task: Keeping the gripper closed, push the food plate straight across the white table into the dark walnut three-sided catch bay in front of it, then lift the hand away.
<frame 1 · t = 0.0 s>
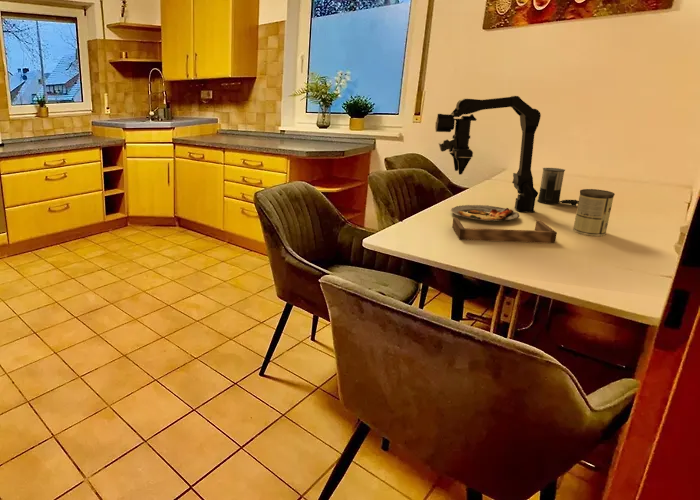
hand: (458, 172, 178), 15 cm above the table, tool pointing down, fingers open, 9 cm apart
coffee can: (588, 232, 154), on the table
food plate: (484, 217, 172), on the table
catch bay: (500, 234, 149), on the table
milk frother: (557, 204, 195), on the table
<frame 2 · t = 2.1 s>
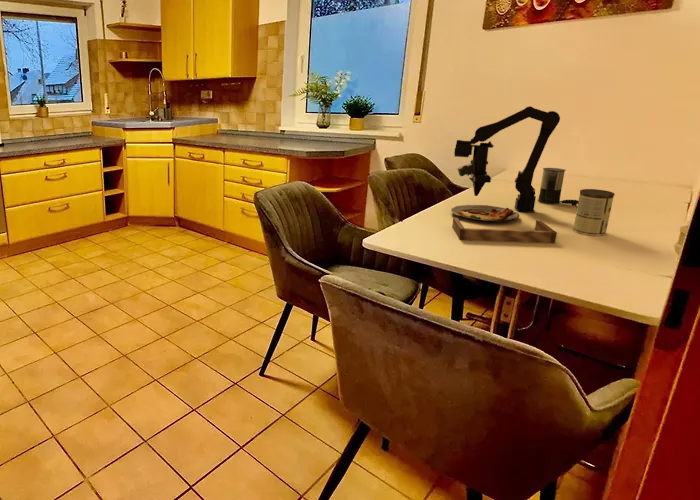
hand: (475, 195, 187), 4 cm above the table, tool pointing down, fingers closed
nothing on the table moved.
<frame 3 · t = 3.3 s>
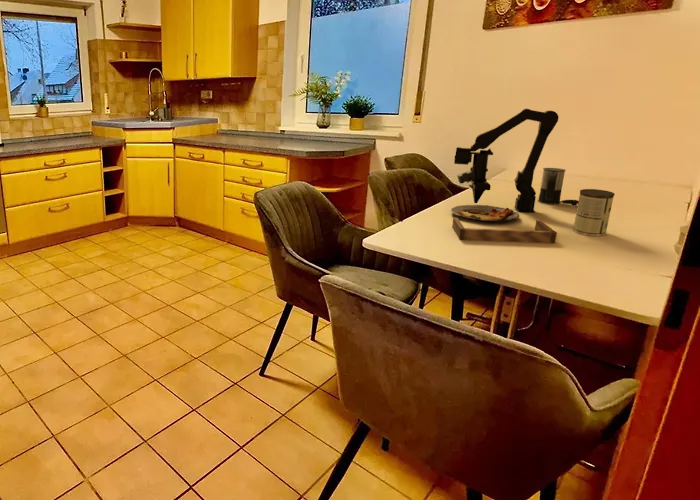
hand: (475, 202, 187), 1 cm above the table, tool pointing down, fingers closed
nothing on the table moved.
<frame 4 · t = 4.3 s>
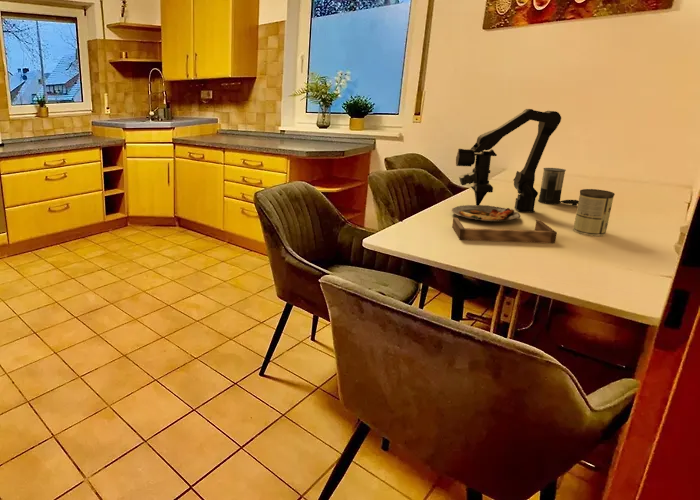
hand: (477, 205, 183), 2 cm above the table, tool pointing down, fingers closed
food plate: (484, 217, 171), on the table, touching gripper
everything else where it was.
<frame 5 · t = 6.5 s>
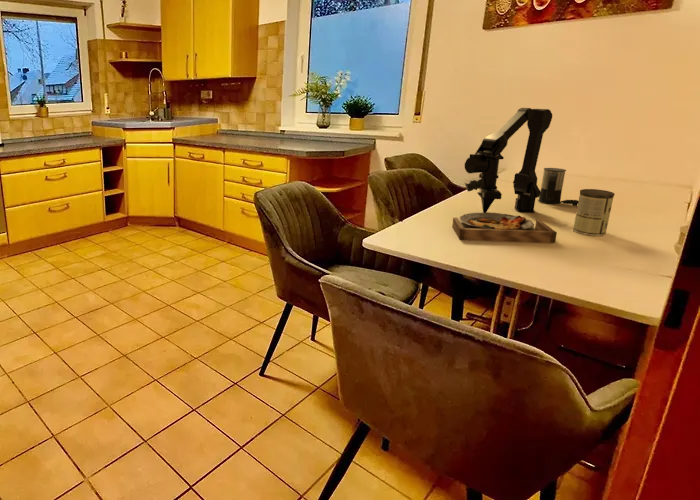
hand: (484, 212, 171), 2 cm above the table, tool pointing down, fingers closed
food plate: (495, 226, 159), on the table, touching gripper
everything else where it was.
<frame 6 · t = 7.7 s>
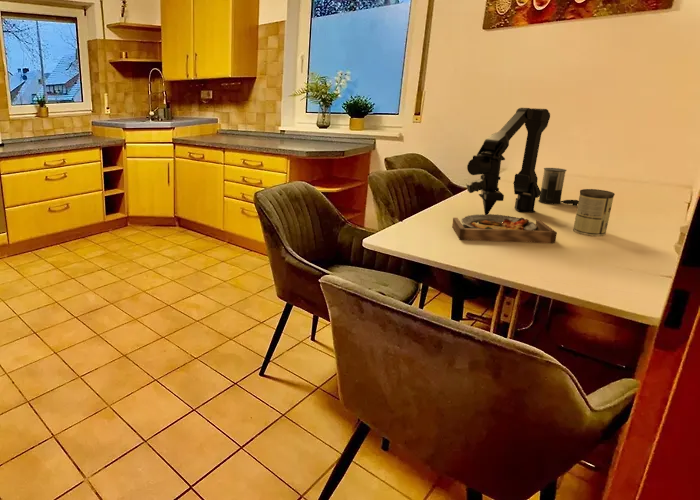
hand: (486, 214, 169), 1 cm above the table, tool pointing down, fingers closed
food plate: (497, 228, 157), on the table, touching gripper
everything else where it was.
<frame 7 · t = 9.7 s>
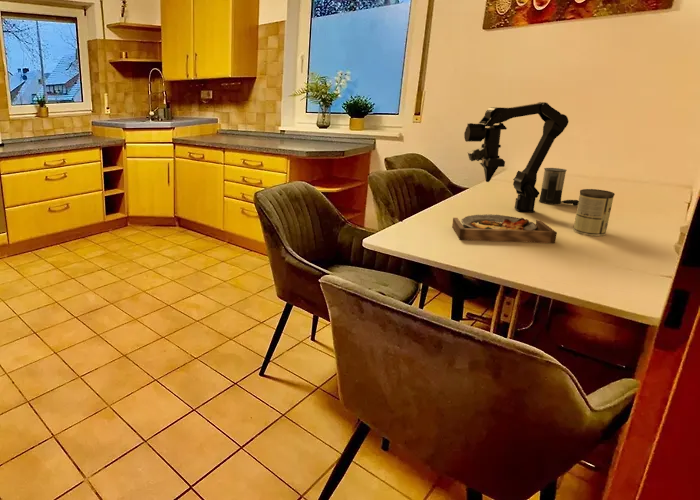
hand: (487, 181, 176), 12 cm above the table, tool pointing down, fingers closed
food plate: (497, 229, 157), on the table
everything else where it was.
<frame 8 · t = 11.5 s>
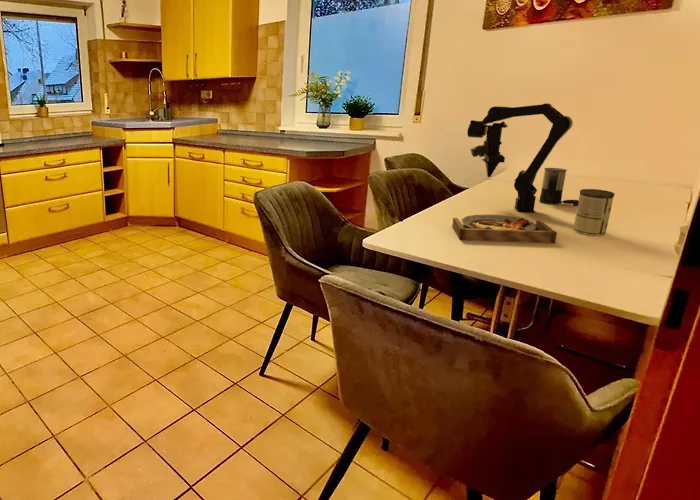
hand: (488, 176, 186), 12 cm above the table, tool pointing down, fingers closed
nothing on the table moved.
at the end: food plate inside the target area (1.3 cm from its centre), on the table; food plate moved 15.6 cm from its start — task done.
